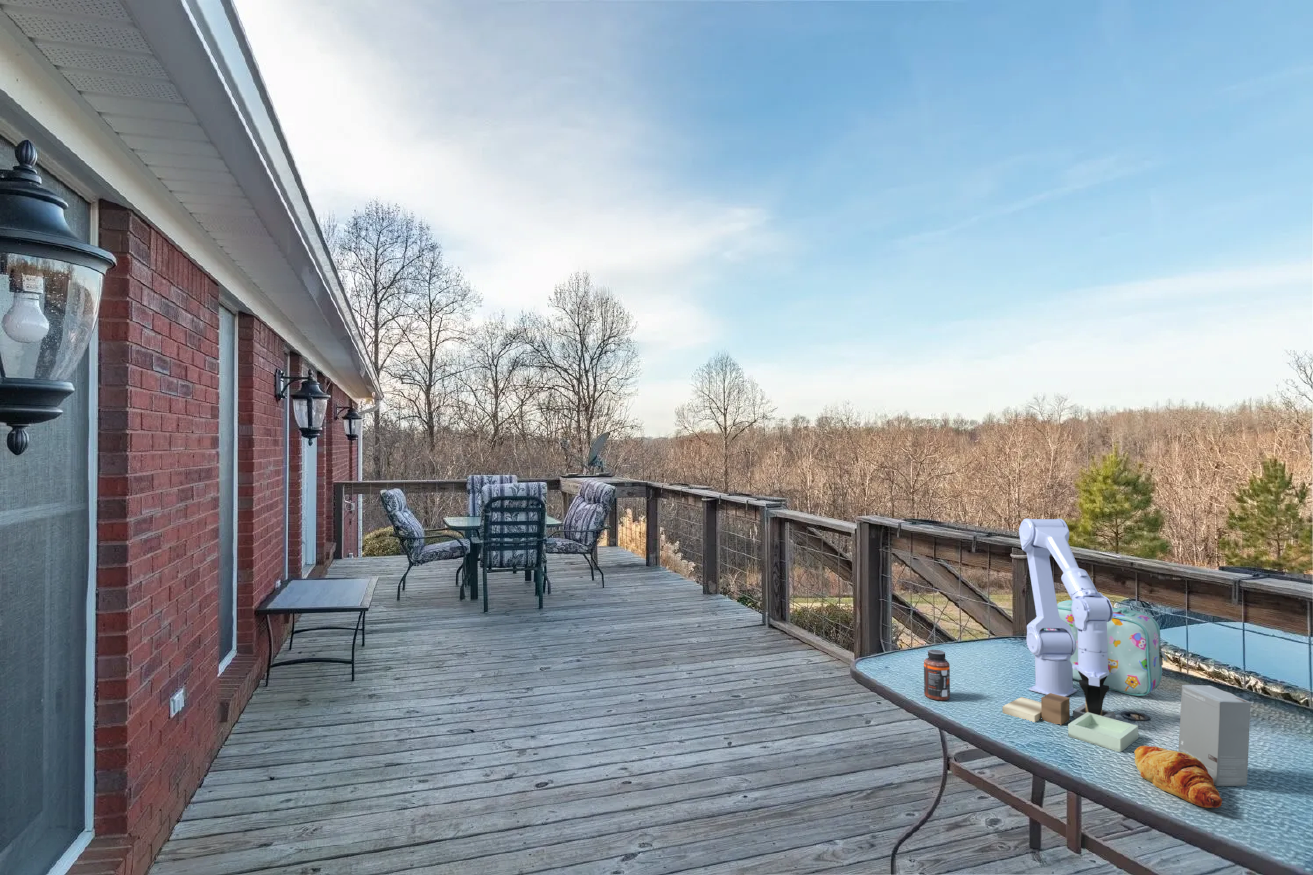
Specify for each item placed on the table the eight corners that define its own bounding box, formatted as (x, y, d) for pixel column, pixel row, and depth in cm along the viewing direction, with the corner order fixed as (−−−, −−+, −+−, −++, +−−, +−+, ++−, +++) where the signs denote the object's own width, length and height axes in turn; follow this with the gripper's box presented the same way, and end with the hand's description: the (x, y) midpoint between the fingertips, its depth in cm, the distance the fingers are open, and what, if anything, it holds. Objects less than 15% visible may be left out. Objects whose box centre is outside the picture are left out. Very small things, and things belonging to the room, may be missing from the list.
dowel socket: (1083, 710, 153) (1083, 704, 153) (1115, 719, 148) (1115, 712, 148) (1072, 717, 149) (1072, 710, 149) (1105, 726, 144) (1104, 719, 144)
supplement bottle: (952, 702, 158) (952, 655, 158) (926, 700, 159) (926, 654, 159) (946, 693, 164) (946, 648, 164) (921, 691, 165) (921, 647, 165)
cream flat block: (1021, 705, 158) (1021, 696, 158) (1053, 714, 152) (1052, 705, 152) (1002, 714, 151) (1002, 706, 152) (1034, 724, 146) (1034, 715, 146)
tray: (1087, 723, 145) (1087, 711, 145) (1138, 738, 138) (1138, 725, 138) (1068, 736, 139) (1068, 724, 139) (1120, 752, 131) (1120, 739, 131)
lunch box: (1172, 695, 163) (1170, 610, 163) (1156, 704, 157) (1154, 615, 158) (1058, 667, 185) (1056, 592, 186) (1040, 674, 179) (1039, 596, 180)
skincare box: (1176, 766, 125) (1174, 683, 126) (1210, 764, 126) (1208, 682, 126) (1218, 788, 117) (1216, 699, 117) (1254, 786, 117) (1252, 698, 118)
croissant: (1124, 776, 128) (1102, 739, 129) (1170, 753, 128) (1149, 716, 129) (1203, 835, 107) (1177, 790, 108) (1259, 809, 107) (1233, 764, 108)
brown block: (1050, 714, 150) (1050, 692, 151) (1069, 720, 147) (1069, 697, 147) (1041, 719, 147) (1041, 697, 147) (1061, 725, 144) (1060, 702, 144)
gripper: (1071, 638, 157) (1072, 695, 157) (1072, 654, 145) (1073, 715, 144) (1107, 643, 153) (1108, 701, 153) (1110, 659, 141) (1111, 722, 141)
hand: (1093, 708), depth 148 cm, fingers open, 7 cm apart
